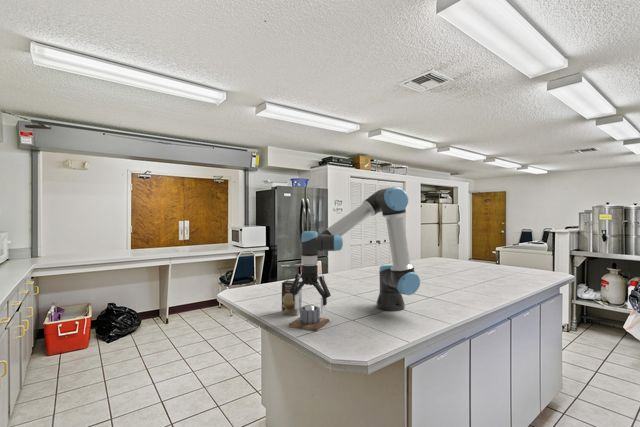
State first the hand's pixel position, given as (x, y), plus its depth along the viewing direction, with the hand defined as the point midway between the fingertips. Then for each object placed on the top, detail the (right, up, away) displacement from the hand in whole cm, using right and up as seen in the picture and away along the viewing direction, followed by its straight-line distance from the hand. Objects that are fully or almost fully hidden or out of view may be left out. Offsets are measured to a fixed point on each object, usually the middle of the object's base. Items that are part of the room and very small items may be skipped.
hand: (309, 310), depth 144 cm
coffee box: (-10, -7, +17) cm, 20 cm away
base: (0, -6, 0) cm, 6 cm away
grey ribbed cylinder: (0, -5, 0) cm, 5 cm away
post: (0, -5, 0) cm, 5 cm away
